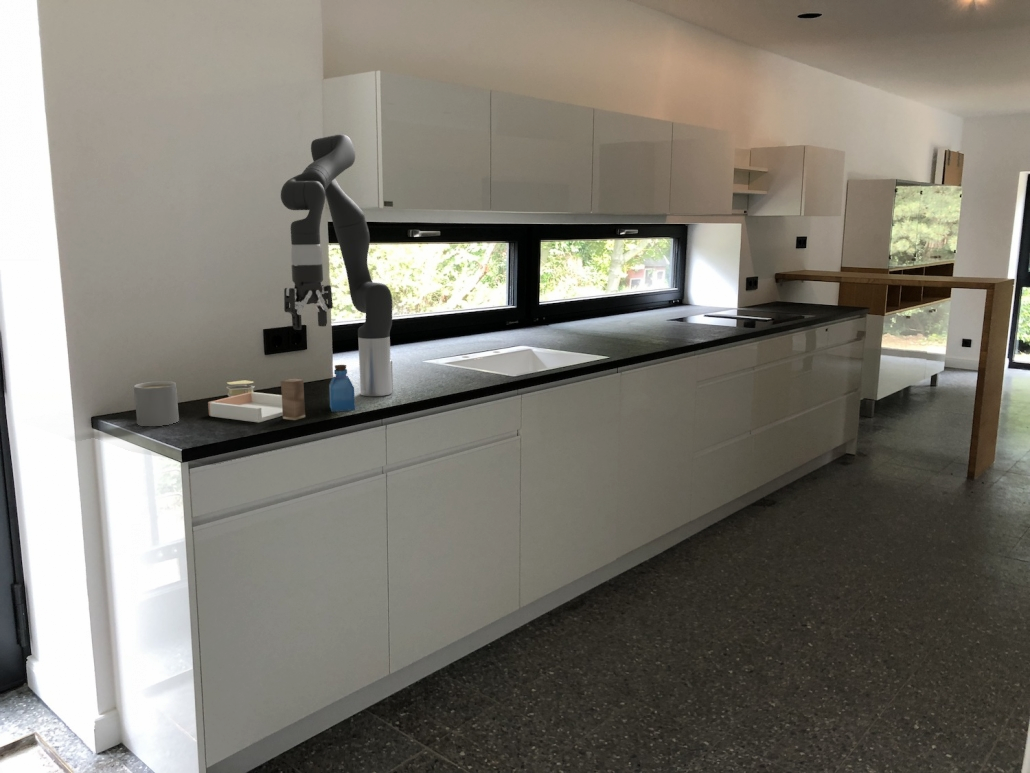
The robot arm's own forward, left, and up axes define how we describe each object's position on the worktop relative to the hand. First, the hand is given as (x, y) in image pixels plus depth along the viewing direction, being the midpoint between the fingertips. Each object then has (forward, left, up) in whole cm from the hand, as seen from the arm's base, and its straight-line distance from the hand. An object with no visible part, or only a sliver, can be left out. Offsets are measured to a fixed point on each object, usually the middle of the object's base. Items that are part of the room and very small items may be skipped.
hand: (310, 327), depth 214 cm
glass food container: (-13, -38, -25) cm, 47 cm away
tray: (-1, -21, -24) cm, 32 cm away
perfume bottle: (-16, -4, -24) cm, 29 cm away
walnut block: (-1, -8, -24) cm, 25 cm away
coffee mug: (+17, -36, -24) cm, 47 cm away
